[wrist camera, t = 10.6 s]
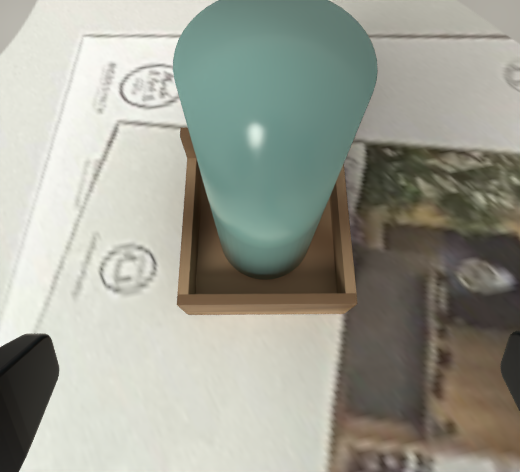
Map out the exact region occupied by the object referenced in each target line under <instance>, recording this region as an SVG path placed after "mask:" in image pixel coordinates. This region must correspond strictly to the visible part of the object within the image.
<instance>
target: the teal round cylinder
mask: <svg viewBox="0 0 520 472" xmlns="http://www.w3.org/2000/svg"><path fill="white" fill-rule="evenodd" d="M173 72H174V79H175V83H176V87H177V90H178V94H179V97H180V101H181V105H182V108H183V112H184V115H185V119H186V122H187V126H188V129H189V133H190V137H191V140H192V144H193V147H194V151H195V154H196V158H197V162H198V165H199V169H200V172H201V176H202V179H203V183H204V186H205V190H206V194H207V197H208V201H209V204H210V208H211V211H212V215H213V219H214V222H215V226H216V229H217V233H218V236H219V240H220V243H221V247H222V250H223V253H224V255H225V257H226V259H227V260H228V262H229V263H230V264H231V265H232V266H233V267H234V268H235V269H236V270H237V271H239V272H240V273H242V274H244V275H246V276H248V277H251V278H255V279H263V280H268V279H275V278H279V277H282V276H285V275H287V274H289V273H290V272H292V271H293V270H294V269H295V268H297V267H298V266H299V264H300V263H301V262H302V261H303V259H304V258H305V256H306V253H307V251H308V249H309V246H310V244H311V241H312V239H313V237H314V234H315V232H316V229H317V227H318V224H319V222H320V220H321V217H322V215H323V212H324V210H325V207H326V205H327V203H328V200H329V198H330V195H331V193H332V190H333V188H334V186H335V183H336V181H337V178H338V176H339V174H340V171H341V169H342V166H343V164H344V161H345V159H346V157H347V154H348V152H349V149H350V147H351V144H352V142H353V140H354V137H355V135H356V132H357V130H358V127H359V125H360V123H361V120H362V118H363V115H364V113H365V110H366V108H367V106H368V103H369V101H370V98H371V96H372V93H373V91H374V87H375V84H376V79H377V59H376V55H375V50H374V48H373V45H372V43H371V40H370V39H369V37H368V35H367V33H366V32H365V30H364V29H363V28H362V27H361V25H360V24H359V23H358V22H357V21H356V20H355V19H354V18H353V17H352V16H351V15H350V14H349V13H347V12H346V11H345V10H343V9H342V8H341V7H339V6H337V5H336V4H334V3H332V2H331V1H328V0H218V1H216V2H215V3H213V4H211V5H210V6H208V7H206V8H205V9H204V10H203V11H201V12H200V13H199V14H197V15H196V17H195V18H194V19H193V20H192V21H191V22H190V23H189V24H188V25H187V27H186V28H185V29H184V31H183V33H182V35H181V36H180V38H179V40H178V43H177V46H176V49H175V53H174V59H173Z"/></svg>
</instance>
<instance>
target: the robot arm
mask: <svg viewBox="0 0 520 472" xmlns="http://www.w3.org/2000/svg"><path fill="white" fill-rule="evenodd" d="M501 373H502V376H503V379H504V381H505V383H506V385H507V387H508V389H509V391H510V393H511V395H512V397H513V399H514V401H515V403H516V405H517V407H518V409H519V411H520V331H515V332H513V333H512V334H511V335H510V337H509V339H508V342H507V346H506V349H505V352H504V355H503V358H502V361H501ZM58 376H59V364H58V361H57V357H56V353H55V350H54V346H53V343H52V340H51V338H50V336H49V335H47V334H24V335H22V336H20V337H18V338H16V339H15V340H13V341H11V342H9V343H7V344H5V345H3V346H1V347H0V472H19V470H20V468H21V466H22V464H23V462H24V460H25V458H26V456H27V454H28V451H29V449H30V447H31V444H32V442H33V440H34V437H35V435H36V432H37V430H38V427H39V425H40V422H41V420H42V417H43V415H44V412H45V410H46V407H47V405H48V402H49V400H50V397H51V395H52V392H53V390H54V387H55V385H56V382H57V380H58Z"/></svg>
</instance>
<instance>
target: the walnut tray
mask: <svg viewBox="0 0 520 472" xmlns="http://www.w3.org/2000/svg"><path fill="white" fill-rule="evenodd" d="M180 138H181V141H182V144H183V147H184V150H185V153H186V156H187V171H186V184H185V198H184V212H183V226H182V240H181V254H180V268H179V282H178V296H177V306H179V307H180V308H181V309H182V310H183V311H184V312H186V313H187V314H188V315H231V314H344V313H346V312H347V311H348V310H350V309H351V308H352V307H354V306H355V305H356V304H357V295H356V284H355V274H354V264H353V254H352V243H351V233H350V223H349V213H348V203H347V192H346V182H345V172H344V164H343V166H342V169H341V171H340V174H339V176H338V178H337V181H336V183H335V186H334V188H333V190H332V193H331V195H330V198H329V200H328V203H327V205H326V207H325V210H324V212H323V215H322V217H321V220H320V222H319V224H318V227H317V229H316V232H315V234H314V237H313V239H312V241H311V244H310V246H309V249H308V251H307V253H306V256H305V258H304V259H303V261H302V262H301V263H300V264H299V266H298V267H297V268H295V269H294V270H293V271H292V272H290V273H289V274H287V275H285V276H282V277H279V278H275V279H268V280H263V279H255V278H251V277H248V276H246V275H244V274H242V273H240V272H239V271H237V270H236V269H235V268H234V267H233V266H232V265H231V264H230V263H229V262H228V260H227V259H226V257H225V255H224V253H223V250H222V247H221V243H220V240H219V236H218V233H217V229H216V226H215V222H214V219H213V215H212V211H211V208H210V204H209V201H208V197H207V194H206V190H205V186H204V183H203V179H202V176H201V172H200V169H199V165H198V162H197V158H196V154H195V151H194V147H193V144H192V140H191V137H190V133H189V129H188V128H181V130H180Z"/></svg>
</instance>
